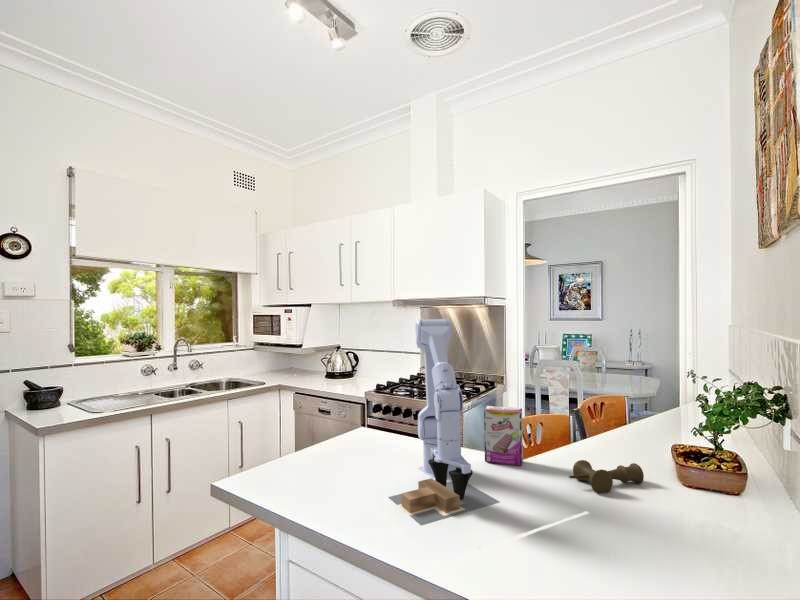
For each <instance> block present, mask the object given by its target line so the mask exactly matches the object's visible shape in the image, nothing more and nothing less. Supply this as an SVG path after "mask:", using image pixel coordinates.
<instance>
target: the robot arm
mask: <svg viewBox="0 0 800 600" xmlns="http://www.w3.org/2000/svg"><path fill="white" fill-rule="evenodd" d="M451 337H452V323H451V321H450V320H449V318H441V319H439V318H438V319H437V318H436V319H435V318H434V319H420V318H419V319H417V320H416V321H415V343H416V347H417V348H418V349H420V350H421V351H422V354H423V358H424V360H423V361H424V375H425V376H424V379H425V395H426V399H425V400H426V406H424V407H423V408H422V409H421V410H420V411H419V412H418V414H417V435H418V439H420V441H422V444H423V445H422V447H423V449H422V450H423V453H422V454H423V466H420V467H419V466H418V468H417V469H418V470H420V471H421V472H422V473H424V474H425V475H428V476H429V477H430V478H434V480H435V481H437V482H439V483H440V484H442V485H443V486H445V487H446V484H447V480H448V475H449V477H450V480H451V481H452V483H453V490H454V492H455V493H456V494H458V495H459V496H460V500H463V499H464V495H465V490H466V487H467V484H469V481H470V478H471V477H472V475H473V470H472V468H471V467H472V465H471V463H470V462H469V461H467V460H466V459H465V457H464V456H463V455H462V441H461V439H462V437H461V412H463V408H464V397H463V392H462V389H461V388H460V385H459V384H457V380H456V376H455V375H456V374H455V371H454V367H453V365H451V364H450V363H449V361H448V360H449V359H448V352H447V346H448V344H449V342H450V339H451Z"/></svg>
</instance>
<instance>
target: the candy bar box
mask: <svg viewBox="0 0 800 600" xmlns="http://www.w3.org/2000/svg"><path fill="white" fill-rule="evenodd" d="M483 418H484V419H483V420H484V421H483V423H484V430H483V431H484V462H486V463H491V464H499V465H509V466H519V467H522V466H523V463H524V448H523V447H524V446H523V445H524V444H523V443H524V442H523V440H524V439H523V408H522V407H511V406H495V405H486V406H485V407H484V410H483Z"/></svg>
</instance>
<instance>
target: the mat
mask: <svg viewBox="0 0 800 600" xmlns="http://www.w3.org/2000/svg"><path fill="white" fill-rule="evenodd" d="M446 487H447V488H448V489H450V490H451V491H453V492H454V490H453V483H452V480H451V481H448V482H447V484H446ZM388 499H389V500H390V501H392V502H393V503H394V504H395V505H396V506H398V507H399V508H400V509H401V510H403V512H404V513H406V514H407V515H408V516H409V517H410V518H412V519H413V520H414V521H415V522H416V523H418V524H419V525H420V526H424V525H428V524H430V523H434V522H437V521H441V520H445V519H448V518H450V517H455V516H458V515H462V514H464V513H468V512H471V511H476V510H477V509H482V508H486V507H490V506H492V505H495V504H498V503H500V501H499V500H497V499H496V498H494V497H492V496H491V495H488V494H487V493H485V492H484V491H482V490H480V489H478V488H476V487H475V486H473V485H471V484H470V483H468V484H467V487H466V490H465V495H464V499H463V500H460V509H458V510H454V511H451V512H447V513H445V512H444V511H442V510H441V509H439V508H438V507H437V506H434V507H431V508H427V509H424V510H420V511H416V512H413V513H409V512H408V511H407V510H406V509H404V508H403V507H402V494H401V493H399V494H396V495H391V496H388Z"/></svg>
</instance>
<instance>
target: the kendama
mask: <svg viewBox="0 0 800 600" xmlns="http://www.w3.org/2000/svg"><path fill="white" fill-rule="evenodd" d="M592 467H593V466H592V465H591V463H590V461H587V460H584V459H581V460H577V461H576V462H574V464H573V467H572V474H573V475H569V476H568V477H569V479H576V480H577V481H579V482H589V483H590V486H591V489H592V490H593V492H594V493H596V494H599V495H600V494H607V493H610V492H611V490H612V488H613V484H614V481H613V480H617V481H620V483H621V482H622V483H623V484H627V483H629V482H633V483H635V484H638V485H641V484H643V482H644V479H645V476H644V475H645V474H644V472H643V469H642V467H641V466H640V465H639V464H638V463H635V462H633V463H630V464H629V466H625V465H621V464H620V465H618V466H616V468H614V469H612V470H611V469H610V470H606V469H598V470H595V469H593V468H592Z"/></svg>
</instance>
